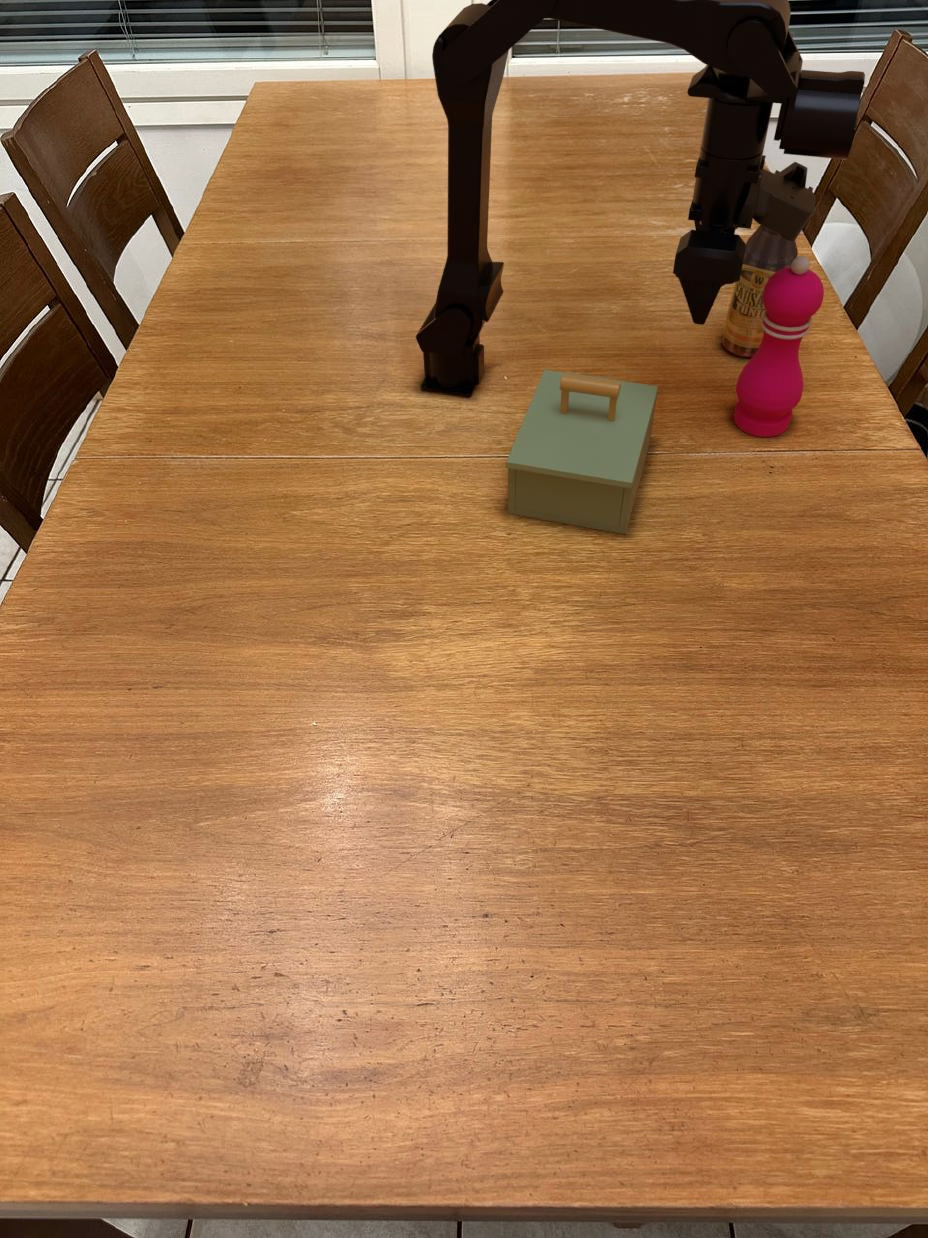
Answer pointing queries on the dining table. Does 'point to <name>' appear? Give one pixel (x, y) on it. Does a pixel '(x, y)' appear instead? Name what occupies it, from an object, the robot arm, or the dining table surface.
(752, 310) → the sauce bottle
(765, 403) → the pepper mill
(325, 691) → the dining table surface
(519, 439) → the lid
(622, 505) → the green box
